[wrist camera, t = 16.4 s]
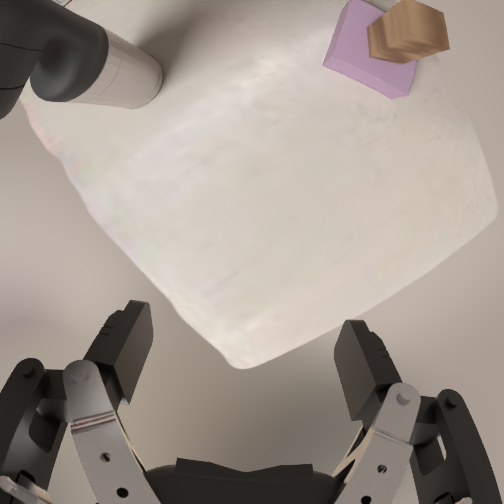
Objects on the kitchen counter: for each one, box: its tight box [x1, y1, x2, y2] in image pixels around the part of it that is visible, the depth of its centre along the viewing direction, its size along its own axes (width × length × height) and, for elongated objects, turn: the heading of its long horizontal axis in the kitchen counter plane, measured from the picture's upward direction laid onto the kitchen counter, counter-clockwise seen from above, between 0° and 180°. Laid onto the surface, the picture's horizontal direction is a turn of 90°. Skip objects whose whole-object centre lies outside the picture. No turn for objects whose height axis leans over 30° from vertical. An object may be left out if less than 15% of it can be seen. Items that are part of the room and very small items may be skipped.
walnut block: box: [367, 0, 450, 65], centre depth 21 cm, size 5×5×12 cm
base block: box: [323, 0, 418, 99], centre depth 29 cm, size 12×12×6 cm
